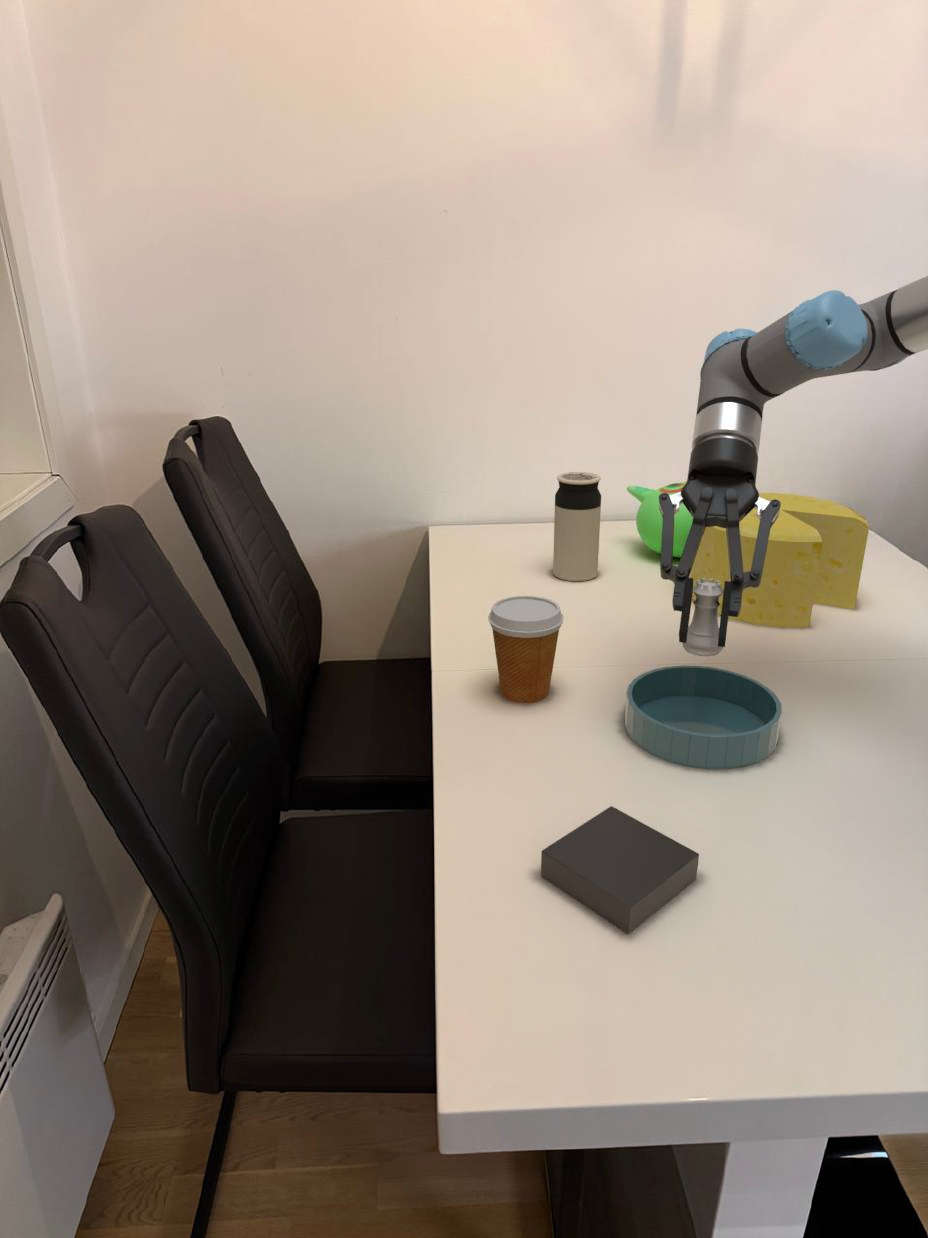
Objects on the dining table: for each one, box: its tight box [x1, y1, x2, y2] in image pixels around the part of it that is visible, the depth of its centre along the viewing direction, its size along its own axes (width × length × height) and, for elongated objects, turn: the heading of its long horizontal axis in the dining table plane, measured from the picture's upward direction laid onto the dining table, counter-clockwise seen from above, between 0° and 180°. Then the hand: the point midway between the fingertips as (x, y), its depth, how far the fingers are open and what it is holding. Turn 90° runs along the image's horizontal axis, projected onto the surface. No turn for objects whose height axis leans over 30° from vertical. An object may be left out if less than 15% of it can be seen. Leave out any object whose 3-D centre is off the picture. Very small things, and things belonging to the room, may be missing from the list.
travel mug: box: [552, 471, 602, 582], centre depth 148 cm, size 8×8×18 cm
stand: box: [540, 805, 700, 935], centre depth 76 cm, size 10×10×3 cm
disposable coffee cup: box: [487, 595, 565, 704], centre depth 108 cm, size 10×10×12 cm
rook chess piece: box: [681, 578, 724, 658], centre depth 92 cm, size 4×4×8 cm
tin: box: [624, 664, 783, 770], centre depth 100 cm, size 18×18×4 cm
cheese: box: [689, 492, 870, 628], centre depth 137 cm, size 26×26×15 cm
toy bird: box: [626, 480, 693, 559], centre depth 158 cm, size 18×17×15 cm
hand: (702, 639), depth 89 cm, fingers closed on rook chess piece, 3 cm apart
